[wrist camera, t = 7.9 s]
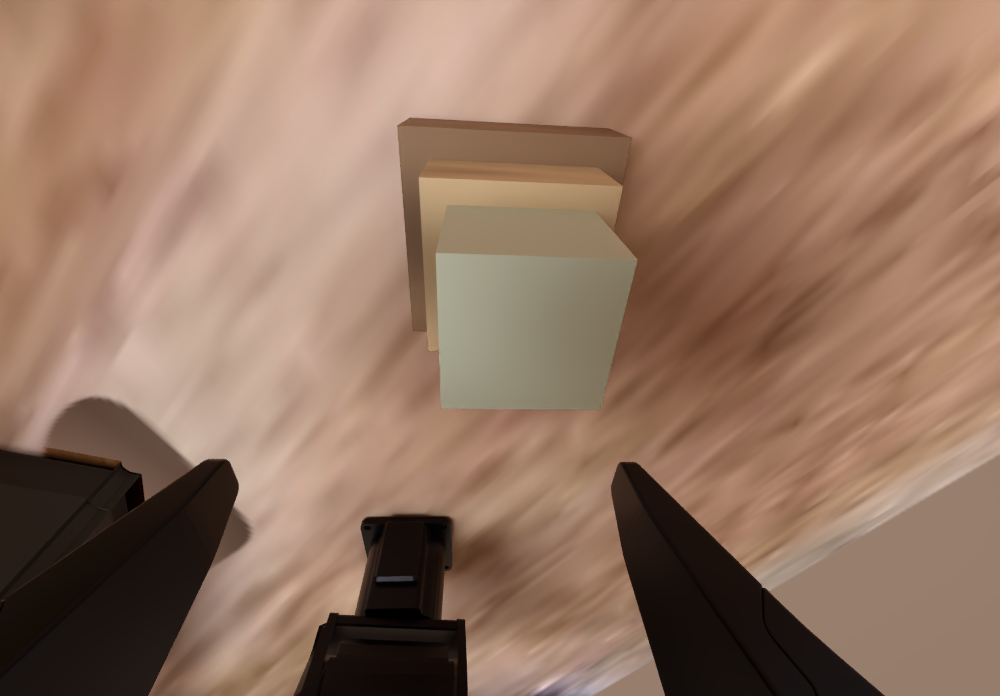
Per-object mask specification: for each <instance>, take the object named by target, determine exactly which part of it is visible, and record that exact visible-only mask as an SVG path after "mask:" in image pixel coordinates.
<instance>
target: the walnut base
mask: <svg viewBox="0 0 1000 696" xmlns="http://www.w3.org/2000/svg"><path fill="white" fill-rule="evenodd" d="M397 127H398V140H399V154H400V167H401V180H402V193H403V206H404V219H405V232H406V245H407V258H408V272H409V285H410V298H411V311H412V324H413V331H425V332H427V321H426V303H425V284H424V266H423V247H422V229H421V211H420V192H419V176H420V174H421V172H422V171H423V169H424V167H425V166H426V164H427V162H428V160H448V161H469V162H490V163H511V164H532V165H553V166H574V167H594V168H599V169H601V170H602V171H603V172H605V173H606V174H607V175H609V176H610V177H611V178H613V179H614V180H615V181H617V182H618V183H619V184H620V185H622V184H623V179H624V174H625V169H626V164H627V160H628V155H629V150H630V145H631V140H632V138H631V137H628V136H626V135H623V134H621V133H618V132H616V131H613V130H611V129H605V128H587V127H568V126H550V125H531V124H513V123H494V122H476V121H457V120H439V119H420V118H409V119H407V120H406V121H404V122H402V123H401V124H399V125H397Z"/></svg>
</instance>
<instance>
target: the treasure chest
mask: <svg viewBox="0 0 1000 696" xmlns="http://www.w3.org/2000/svg"><path fill="white" fill-rule="evenodd" d="M143 502H145V497H144V489H143V480H142V474H140V473H135V472H130V471H128V470H127V469H125V468H124V467H123V466H122V461H118V460H113V459H107V458H102V457H97V456H91V455H86V454H80V453H75V452H70V451H65V450H59V449H54V448H49V447H43V452H42V456H41V457H35V456H30V455H24V454H18V453H13V452H7V451H2V450H0V601H2V600H5V599H6V597H7V596H8V595H10V594H11V593H13V592H14V591H16V590H17V589H19V588H20V587H21V586H23V585H24V584H26V583H27V582H29V581H30V580H32V579H33V578H35V577H36V576H37V575H39V574H40V573H42V572H43V571H45V570H46V569H48V568H49V567H50V566H52V565H53V564H55V563H56V562H58V561H59V560H61V559H62V558H64V557H65V556H66V555H68V554H69V553H71V552H72V551H74V550H75V549H77V548H78V547H80V546H81V545H82V544H84V543H85V542H87V541H88V540H90V539H91V538H93V537H94V536H96V535H97V534H98V533H100V532H101V531H103V530H104V529H106V528H107V527H109V526H110V525H112V524H113V523H114V522H116V521H117V520H119V519H120V518H122V517H123V516H125V515H126V514H128V513H129V512H130V511H132V510H133V509H135V508H136V507H138V506H139V505H141V504H142V503H143Z"/></svg>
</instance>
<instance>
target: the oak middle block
mask: <svg viewBox="0 0 1000 696" xmlns="http://www.w3.org/2000/svg"><path fill="white" fill-rule="evenodd" d="M622 189H623V186H622V185H620V184H619V183H618V182H617V181H615V180H614V179H613V178H611V177H610V176H609V175H607V174H606V173H605V172H603V171H602V170H601V169H599V168H594V167H574V166H553V165H532V164H511V163H490V162H469V161H448V160H428V162H427V164H426V166H425V167H424V169H423V171H422V172H421V174H420V176H419V192H420V211H421V229H422V247H423V266H424V284H425V303H426V321H427V339H428V351H439V335H438V307H437V279H436V249H437V245H438V241H439V236H440V232H441V228H442V224H443V220H444V215H445V211H446V207H447V205H465V206H489V207H513V208H537V209H561V210H585V211H596V212H597V214H598V215H599V216H600V217H601V218H602V219H603V220H604V222H605V223H606V224H607V225H608V226H609V227H610V228H611V230H612V231H613V232H614V228H615V223H616V218H617V213H618V208H619V204H620V199H621V194H622Z"/></svg>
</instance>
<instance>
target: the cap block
mask: <svg viewBox="0 0 1000 696" xmlns="http://www.w3.org/2000/svg"><path fill="white" fill-rule="evenodd" d="M637 261H638V259H637V258H636V257H635V256H634V255H633V254H632V252H631V251H630V250H629V249H628V248H627V247H626V246H625V244H624V243H623V242H622V241H621V240H620V239H619V238H618V236H617V235H616V234H615V233H614V232H613V231H612V230H611V228H610V227H609V226H608V225H607V224H606V223H605V222H604V220H603V219H602V218H601V217H600V216H599V215H598V214H597V212H596V211H585V210H561V209H537V208H513V207H489V206H465V205H447V207H446V211H445V215H444V220H443V224H442V228H441V232H440V236H439V241H438V245H437V249H436V279H437V307H438V335H439V364H440V392H441V409H521V410H600V409H601V405H602V401H603V397H604V393H605V389H606V385H607V381H608V377H609V373H610V369H611V365H612V361H613V357H614V353H615V349H616V345H617V341H618V337H619V333H620V329H621V325H622V321H623V317H624V313H625V309H626V305H627V301H628V297H629V293H630V289H631V285H632V281H633V277H634V273H635V269H636V265H637Z"/></svg>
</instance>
